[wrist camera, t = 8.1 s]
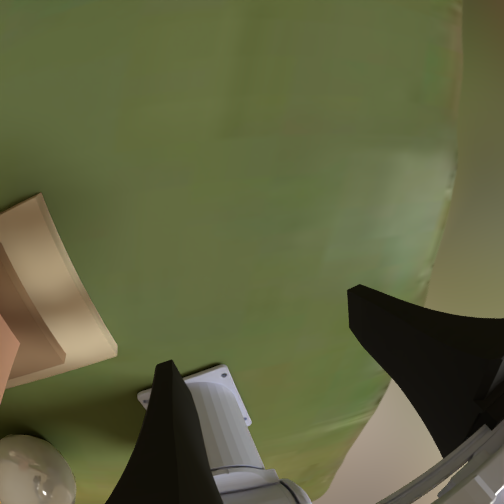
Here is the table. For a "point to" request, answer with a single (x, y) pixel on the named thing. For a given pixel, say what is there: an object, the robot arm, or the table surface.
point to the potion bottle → (34, 472)
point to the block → (6, 353)
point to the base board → (45, 298)
